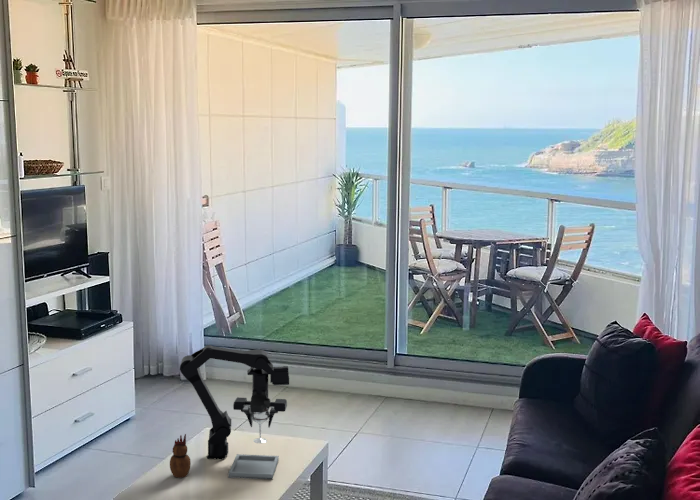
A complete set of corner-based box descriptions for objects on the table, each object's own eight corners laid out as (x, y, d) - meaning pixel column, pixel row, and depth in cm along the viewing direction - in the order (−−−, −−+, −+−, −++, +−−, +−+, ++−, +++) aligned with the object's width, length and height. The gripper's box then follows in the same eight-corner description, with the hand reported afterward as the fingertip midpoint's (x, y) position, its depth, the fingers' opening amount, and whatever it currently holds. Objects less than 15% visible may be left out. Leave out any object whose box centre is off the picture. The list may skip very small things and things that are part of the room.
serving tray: (228, 477, 259) (228, 472, 259) (237, 458, 274) (237, 454, 274) (272, 479, 258) (272, 474, 258) (278, 460, 273) (278, 455, 273)
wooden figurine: (193, 473, 261) (193, 432, 259) (184, 481, 256) (184, 438, 254) (176, 470, 264) (175, 429, 261) (167, 477, 258) (166, 435, 256)
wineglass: (256, 435, 282) (256, 404, 280) (272, 438, 280) (272, 407, 278) (247, 442, 276) (247, 410, 274) (264, 445, 273) (264, 413, 272)
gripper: (230, 392, 267) (230, 434, 269) (283, 394, 266) (282, 436, 269) (236, 382, 278) (236, 422, 280) (287, 383, 277) (287, 424, 280)
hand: (260, 426), depth 277 cm, fingers closed on wineglass, 6 cm apart
